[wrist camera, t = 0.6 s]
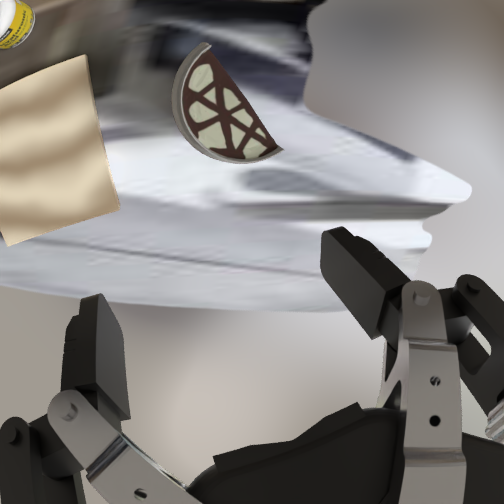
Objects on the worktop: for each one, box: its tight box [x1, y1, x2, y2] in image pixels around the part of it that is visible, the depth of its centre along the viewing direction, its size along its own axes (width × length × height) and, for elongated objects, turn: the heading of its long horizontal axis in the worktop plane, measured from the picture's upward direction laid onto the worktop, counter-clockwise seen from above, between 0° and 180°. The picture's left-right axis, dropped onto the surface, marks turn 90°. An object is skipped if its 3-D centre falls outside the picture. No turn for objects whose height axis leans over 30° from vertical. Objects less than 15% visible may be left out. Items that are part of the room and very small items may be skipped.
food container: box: [171, 42, 284, 164], centre depth 27 cm, size 12×6×10 cm, turn 33°
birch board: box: [0, 54, 120, 246], centre depth 26 cm, size 18×16×2 cm
